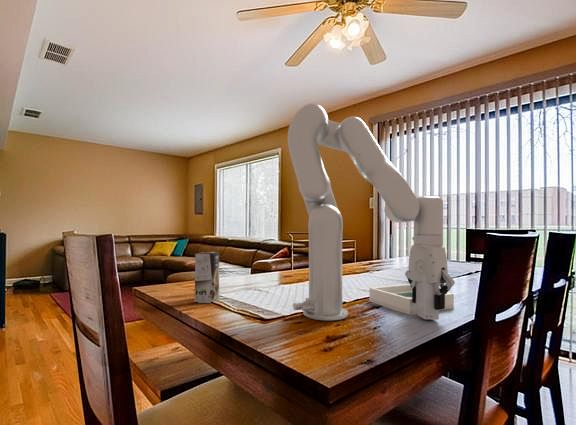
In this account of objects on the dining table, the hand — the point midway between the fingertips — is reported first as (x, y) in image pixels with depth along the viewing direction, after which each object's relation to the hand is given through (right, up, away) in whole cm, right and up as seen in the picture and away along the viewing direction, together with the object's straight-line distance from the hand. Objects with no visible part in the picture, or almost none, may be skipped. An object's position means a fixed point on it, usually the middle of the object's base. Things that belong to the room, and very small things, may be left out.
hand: (427, 305), depth 93 cm
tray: (+1, -4, +16) cm, 16 cm away
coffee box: (-66, -4, +21) cm, 69 cm away
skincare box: (0, -3, 0) cm, 3 cm away
